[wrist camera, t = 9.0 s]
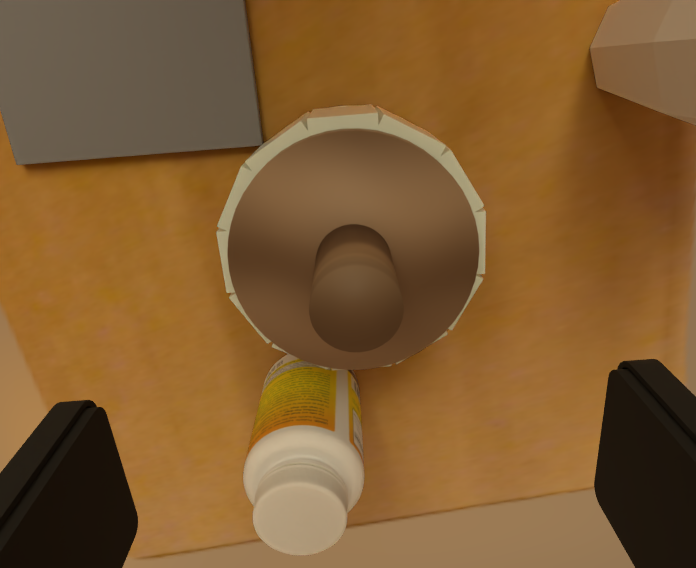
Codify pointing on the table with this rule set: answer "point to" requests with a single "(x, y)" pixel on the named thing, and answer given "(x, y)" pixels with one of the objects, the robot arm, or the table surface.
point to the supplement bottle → (305, 456)
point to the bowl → (347, 119)
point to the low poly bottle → (649, 55)
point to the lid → (353, 249)
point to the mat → (125, 78)
